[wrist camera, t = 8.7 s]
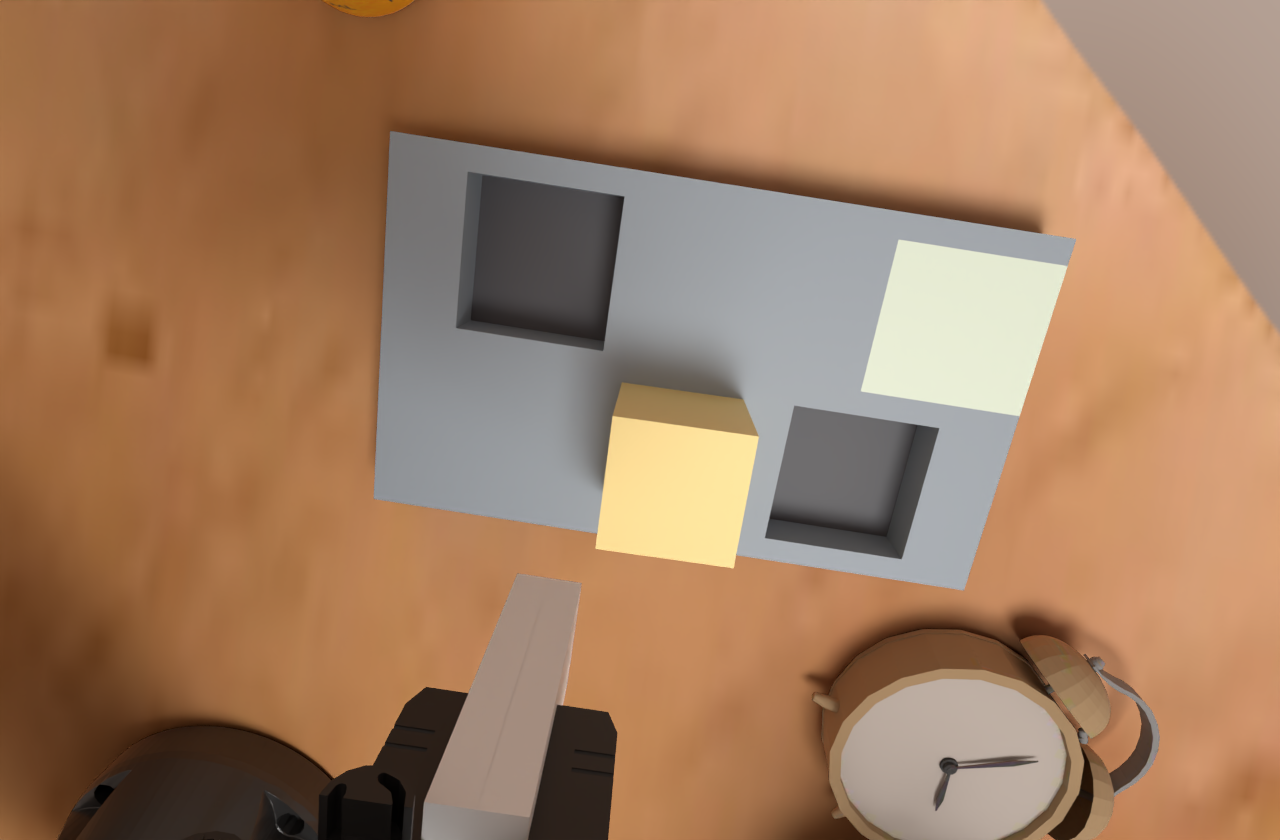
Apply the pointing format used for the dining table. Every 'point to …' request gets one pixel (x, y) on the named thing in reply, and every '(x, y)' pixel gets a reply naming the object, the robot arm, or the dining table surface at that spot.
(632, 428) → the block
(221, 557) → the dining table surface
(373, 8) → the beer can
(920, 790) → the alarm clock
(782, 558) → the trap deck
